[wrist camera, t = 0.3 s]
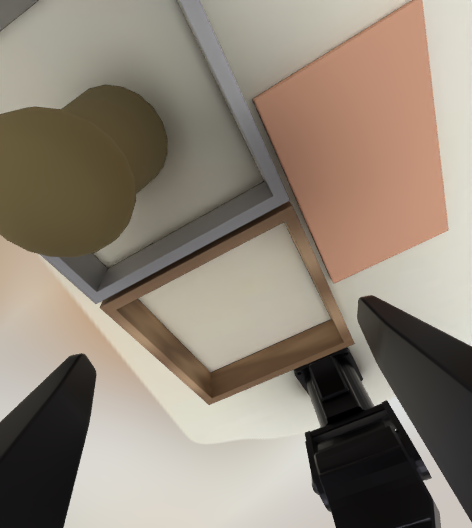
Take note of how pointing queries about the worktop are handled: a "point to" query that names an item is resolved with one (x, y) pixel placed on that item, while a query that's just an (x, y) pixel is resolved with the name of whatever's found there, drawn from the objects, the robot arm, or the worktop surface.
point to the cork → (77, 170)
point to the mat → (363, 144)
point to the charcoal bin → (209, 225)
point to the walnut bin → (249, 368)
